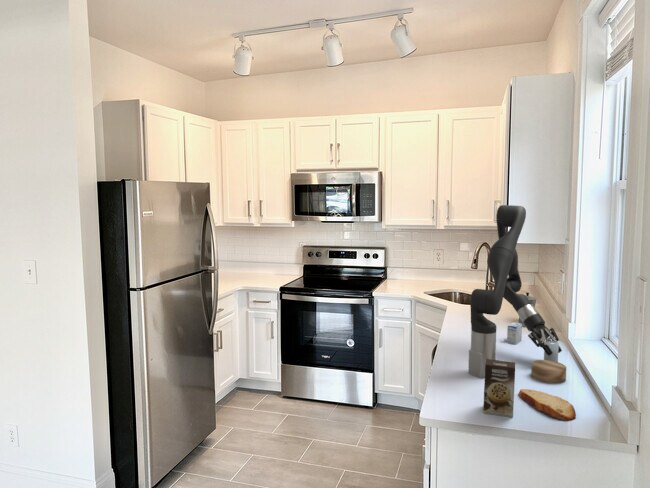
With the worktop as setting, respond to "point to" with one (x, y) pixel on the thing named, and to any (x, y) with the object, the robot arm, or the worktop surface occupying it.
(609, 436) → the worktop surface
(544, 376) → the walnut round
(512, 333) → the medicine box
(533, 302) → the coffeepot
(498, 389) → the coffee box
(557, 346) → the dome-topped grey cylinder
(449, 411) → the worktop surface
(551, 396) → the bread slice
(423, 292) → the worktop surface
